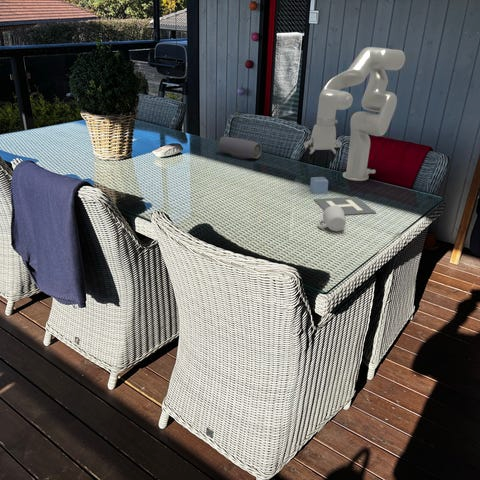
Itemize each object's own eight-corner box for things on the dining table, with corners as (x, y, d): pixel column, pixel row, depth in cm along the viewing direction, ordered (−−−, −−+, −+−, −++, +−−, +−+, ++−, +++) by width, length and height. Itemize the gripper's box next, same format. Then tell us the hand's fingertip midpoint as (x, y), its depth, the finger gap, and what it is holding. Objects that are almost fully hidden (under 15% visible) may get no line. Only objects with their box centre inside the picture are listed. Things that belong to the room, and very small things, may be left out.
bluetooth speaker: (261, 158, 262) (262, 140, 258) (253, 162, 255) (253, 144, 251) (227, 151, 273) (227, 134, 269) (217, 155, 266) (217, 137, 262)
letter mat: (356, 197, 212) (356, 196, 211) (376, 213, 196) (376, 212, 196) (313, 200, 207) (313, 199, 207) (330, 216, 192) (330, 215, 191)
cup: (316, 223, 176) (312, 213, 183) (323, 240, 180) (320, 229, 186) (343, 211, 173) (339, 201, 180) (351, 229, 177) (346, 218, 184)
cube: (322, 189, 221) (323, 176, 218) (327, 193, 215) (328, 181, 213) (309, 189, 219) (311, 177, 217) (314, 194, 214) (315, 181, 212)
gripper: (340, 120, 209) (335, 159, 216) (303, 120, 205) (299, 160, 212) (348, 124, 202) (342, 164, 210) (309, 124, 199) (305, 164, 206)
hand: (320, 162), depth 211 cm, fingers open, 9 cm apart
